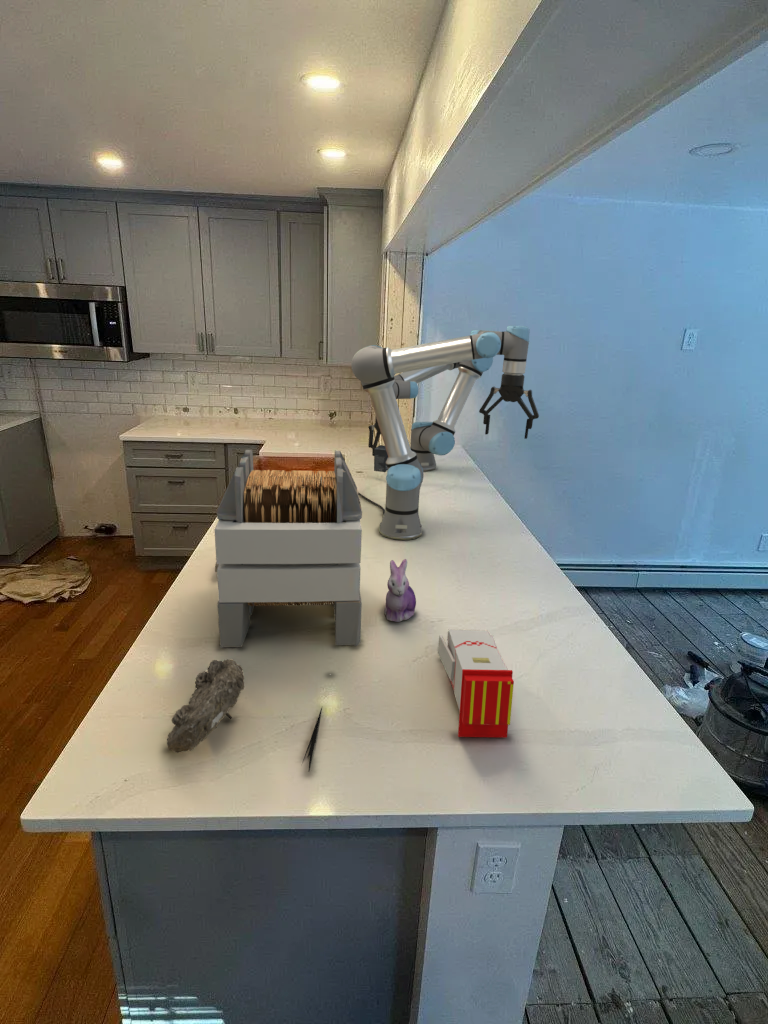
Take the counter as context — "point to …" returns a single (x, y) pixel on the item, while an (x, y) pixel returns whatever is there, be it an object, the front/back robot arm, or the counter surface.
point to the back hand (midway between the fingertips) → (382, 463)
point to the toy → (478, 682)
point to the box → (380, 459)
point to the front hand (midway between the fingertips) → (506, 435)
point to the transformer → (288, 546)
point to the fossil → (206, 705)
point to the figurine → (399, 594)
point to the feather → (313, 740)
